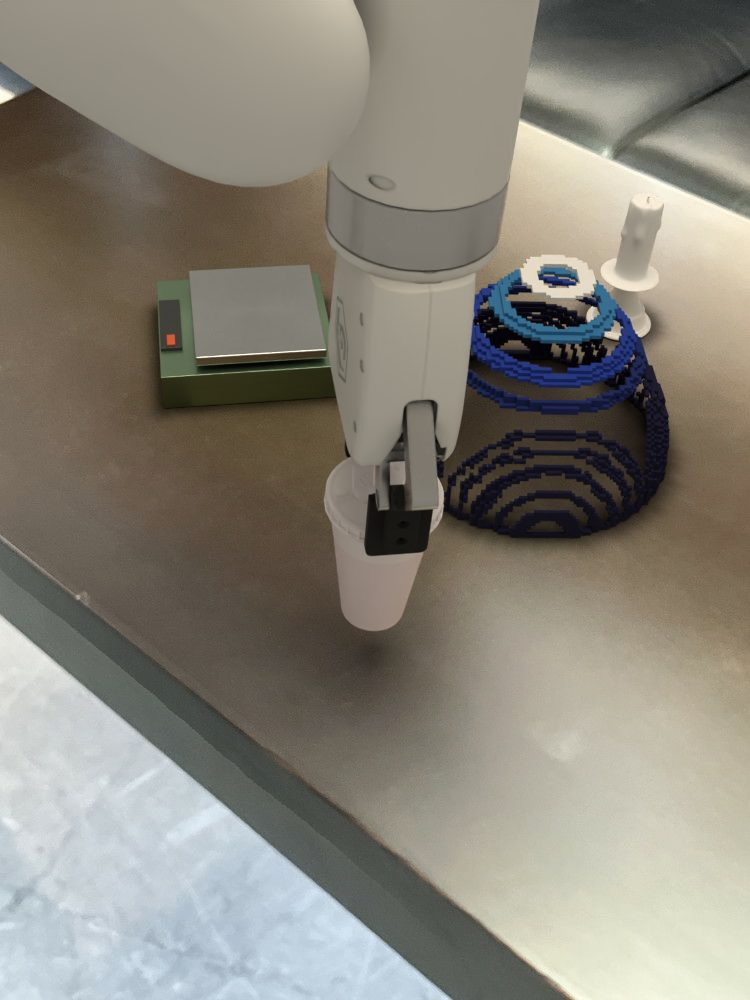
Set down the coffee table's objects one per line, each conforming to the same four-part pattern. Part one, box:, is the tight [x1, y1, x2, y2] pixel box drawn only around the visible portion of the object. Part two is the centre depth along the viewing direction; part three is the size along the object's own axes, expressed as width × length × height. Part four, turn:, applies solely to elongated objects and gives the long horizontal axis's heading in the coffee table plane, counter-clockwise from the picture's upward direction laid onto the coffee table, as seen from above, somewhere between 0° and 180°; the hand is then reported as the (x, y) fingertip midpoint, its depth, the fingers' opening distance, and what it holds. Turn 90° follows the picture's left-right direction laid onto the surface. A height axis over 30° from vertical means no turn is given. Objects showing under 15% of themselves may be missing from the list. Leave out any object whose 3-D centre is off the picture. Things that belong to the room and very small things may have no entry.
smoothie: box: [323, 457, 445, 632], centre depth 62 cm, size 6×6×14 cm
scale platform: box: [188, 264, 327, 366], centre depth 88 cm, size 10×11×1 cm
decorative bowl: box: [436, 254, 671, 538], centre depth 80 cm, size 20×20×14 cm
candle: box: [585, 192, 665, 341], centre depth 91 cm, size 5×5×12 cm
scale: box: [156, 272, 336, 409], centre depth 89 cm, size 13×12×3 cm
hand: (384, 498), depth 61 cm, fingers closed on smoothie, 6 cm apart
